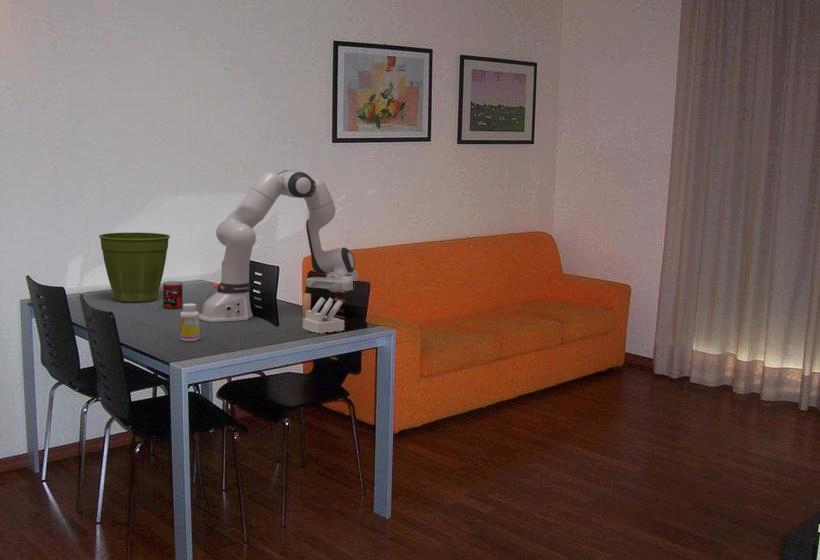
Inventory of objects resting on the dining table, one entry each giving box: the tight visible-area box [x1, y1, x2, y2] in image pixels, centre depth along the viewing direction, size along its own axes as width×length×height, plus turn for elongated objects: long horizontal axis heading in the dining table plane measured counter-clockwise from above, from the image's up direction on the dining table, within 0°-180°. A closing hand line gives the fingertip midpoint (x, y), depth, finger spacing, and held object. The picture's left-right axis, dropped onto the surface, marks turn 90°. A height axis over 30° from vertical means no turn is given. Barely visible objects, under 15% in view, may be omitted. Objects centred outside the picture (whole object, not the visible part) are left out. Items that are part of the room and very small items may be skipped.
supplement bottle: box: [179, 302, 200, 342], centre depth 305 cm, size 7×7×13 cm
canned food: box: [162, 280, 183, 310], centre depth 363 cm, size 8×8×11 cm
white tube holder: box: [302, 296, 345, 334], centre depth 332 cm, size 14×11×13 cm
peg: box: [301, 292, 312, 325], centre depth 341 cm, size 3×3×12 cm
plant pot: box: [98, 231, 171, 303], centre depth 378 cm, size 30×30×29 cm
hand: (321, 286), depth 352 cm, fingers open, 8 cm apart
